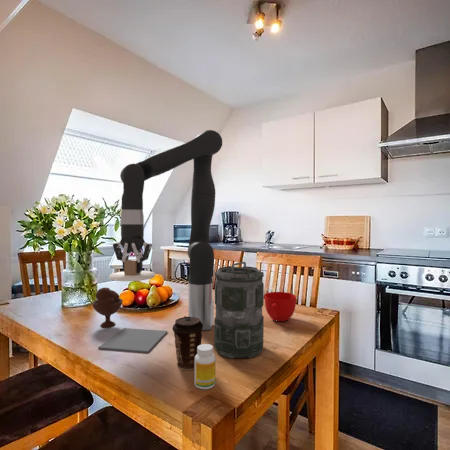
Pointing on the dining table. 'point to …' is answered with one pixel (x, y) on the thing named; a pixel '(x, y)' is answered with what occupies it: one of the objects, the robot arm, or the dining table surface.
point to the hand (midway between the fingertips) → (132, 272)
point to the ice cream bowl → (107, 305)
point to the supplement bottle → (204, 367)
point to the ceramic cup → (280, 305)
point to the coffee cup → (187, 340)
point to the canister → (239, 311)
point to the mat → (134, 340)
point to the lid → (131, 272)
